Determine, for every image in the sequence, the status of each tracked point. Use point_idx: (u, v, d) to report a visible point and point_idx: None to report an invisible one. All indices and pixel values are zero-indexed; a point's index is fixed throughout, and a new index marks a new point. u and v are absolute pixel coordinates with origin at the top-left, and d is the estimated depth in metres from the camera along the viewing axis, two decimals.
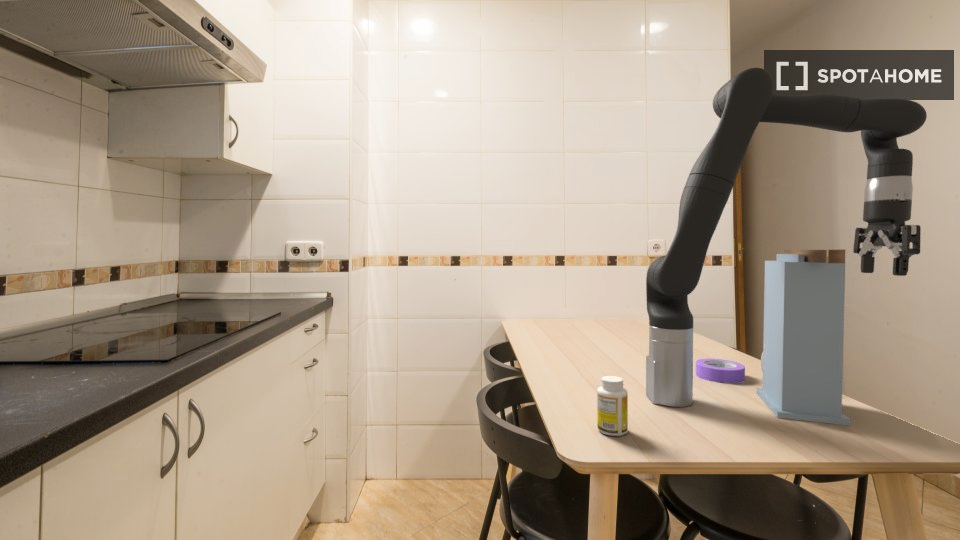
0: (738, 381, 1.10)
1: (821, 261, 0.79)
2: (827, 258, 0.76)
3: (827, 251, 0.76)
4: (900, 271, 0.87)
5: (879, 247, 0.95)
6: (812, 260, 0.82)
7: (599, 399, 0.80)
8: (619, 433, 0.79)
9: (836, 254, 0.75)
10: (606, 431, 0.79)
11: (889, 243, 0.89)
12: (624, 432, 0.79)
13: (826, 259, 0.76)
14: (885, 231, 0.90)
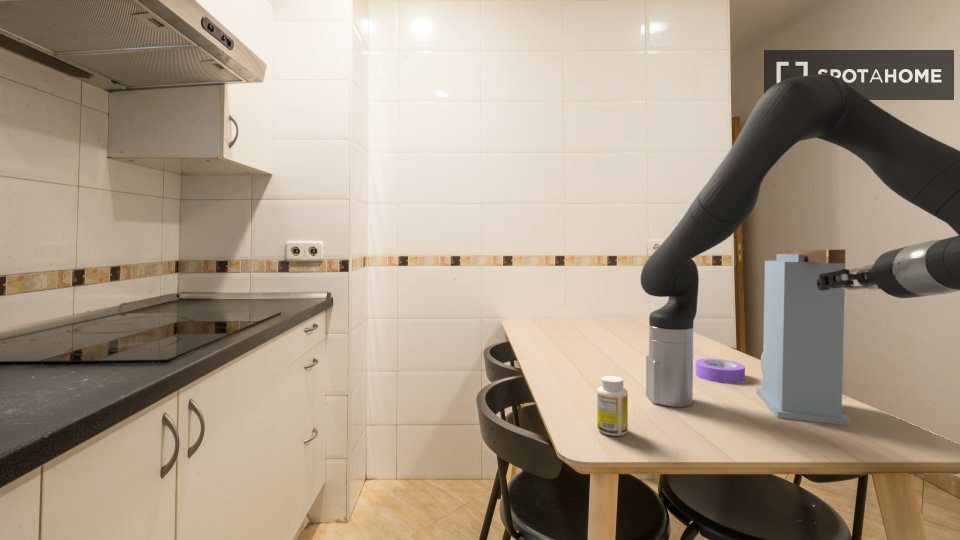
0: (738, 381, 1.10)
1: (821, 261, 0.79)
2: (827, 258, 0.76)
3: (827, 251, 0.76)
4: (817, 281, 0.77)
5: None
6: (812, 260, 0.82)
7: (599, 399, 0.80)
8: (619, 433, 0.79)
9: (836, 254, 0.75)
10: (606, 431, 0.79)
11: (849, 269, 0.71)
12: (624, 432, 0.79)
13: (826, 259, 0.76)
14: (871, 268, 0.68)
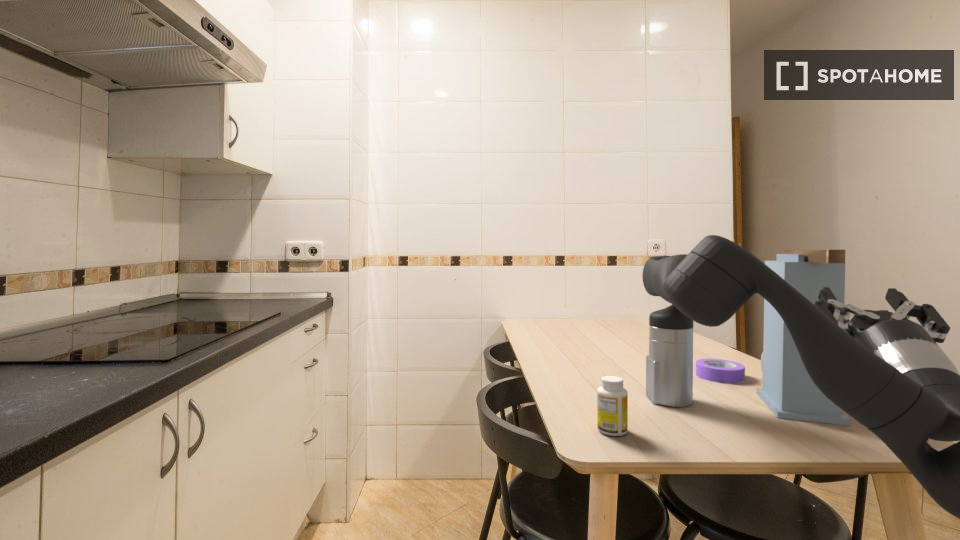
0: (738, 381, 1.10)
1: (821, 261, 0.79)
2: (827, 258, 0.76)
3: (827, 251, 0.76)
4: (820, 291, 0.70)
5: None
6: (812, 260, 0.82)
7: (599, 399, 0.80)
8: (619, 433, 0.79)
9: (836, 254, 0.75)
10: (606, 431, 0.79)
11: (848, 307, 0.64)
12: (624, 432, 0.79)
13: (826, 259, 0.76)
14: (868, 319, 0.61)
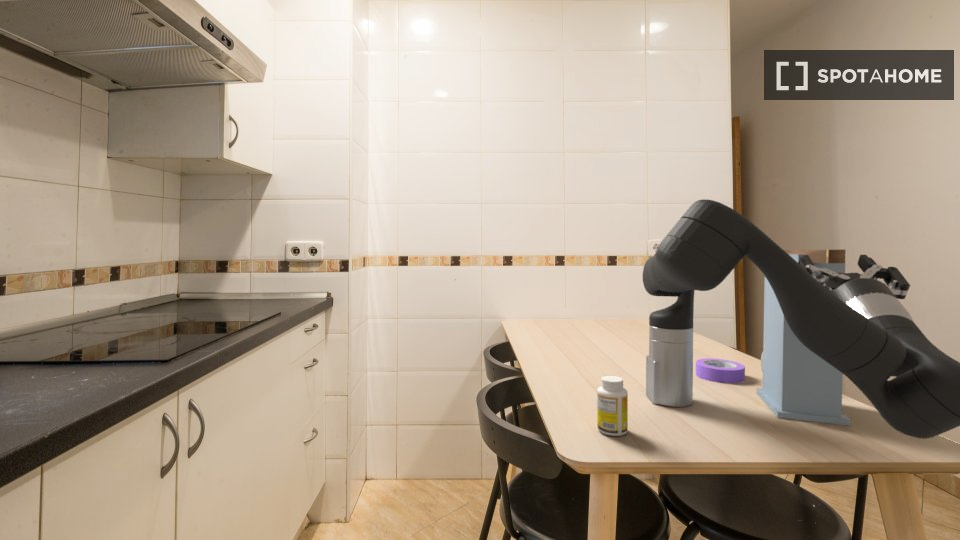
0: (738, 381, 1.10)
1: (821, 261, 0.79)
2: (827, 258, 0.76)
3: (827, 251, 0.76)
4: (800, 258, 0.78)
5: None
6: (812, 260, 0.82)
7: (599, 399, 0.80)
8: (619, 433, 0.79)
9: (836, 254, 0.75)
10: (606, 431, 0.79)
11: (823, 270, 0.72)
12: (624, 432, 0.79)
13: (826, 259, 0.76)
14: (840, 280, 0.70)
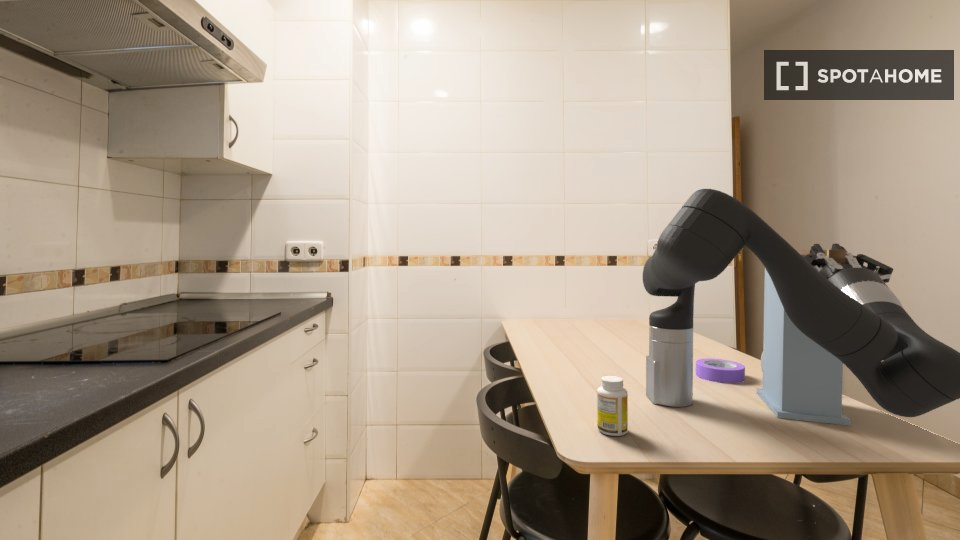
0: (738, 381, 1.10)
1: None
2: None
3: (827, 251, 0.76)
4: (811, 247, 0.80)
5: None
6: None
7: (599, 399, 0.80)
8: (619, 433, 0.79)
9: (836, 254, 0.75)
10: (606, 431, 0.79)
11: (826, 259, 0.75)
12: (624, 432, 0.79)
13: None
14: (832, 269, 0.72)
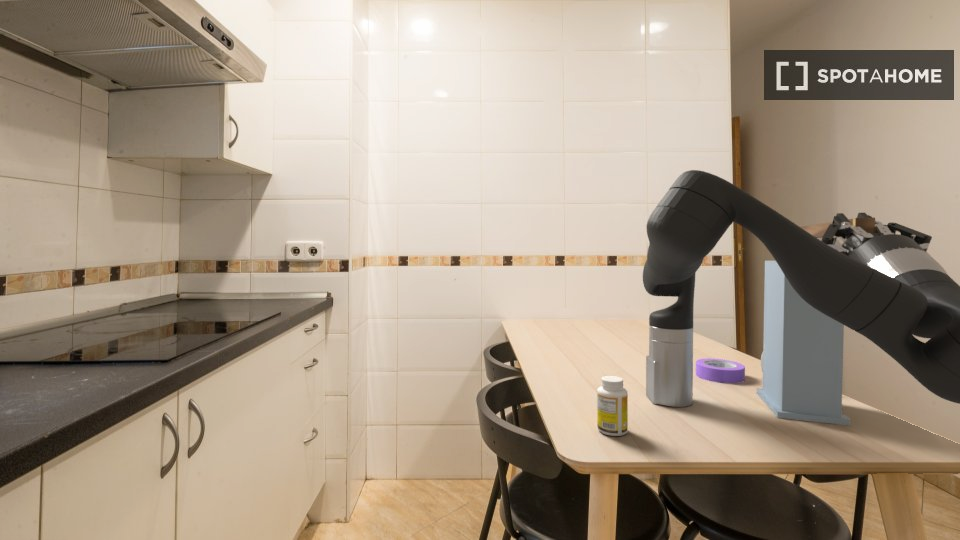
0: (738, 381, 1.10)
1: None
2: None
3: (854, 220, 0.67)
4: (834, 217, 0.71)
5: None
6: None
7: (599, 399, 0.80)
8: (619, 433, 0.79)
9: (864, 223, 0.66)
10: (606, 431, 0.79)
11: (853, 227, 0.66)
12: (624, 432, 0.79)
13: None
14: (861, 238, 0.63)
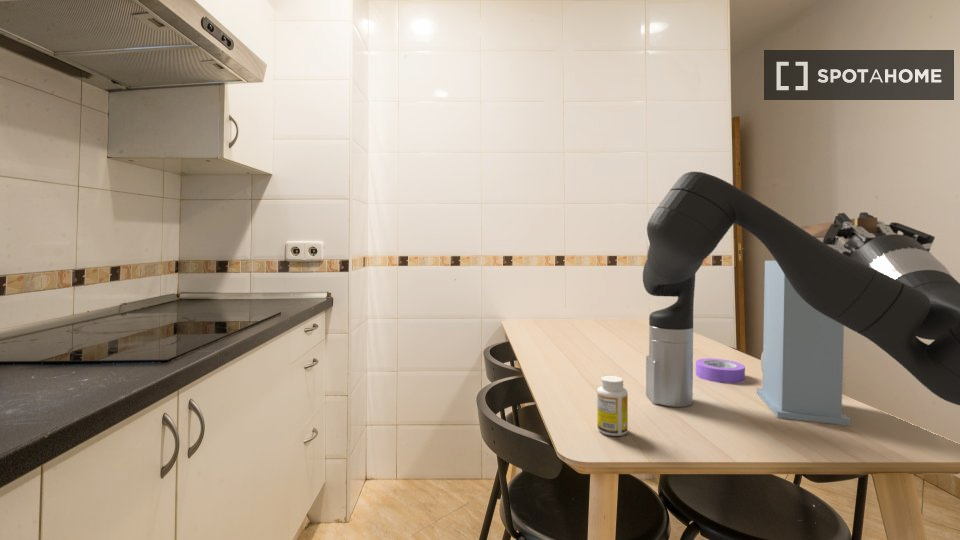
0: (738, 381, 1.10)
1: None
2: None
3: (856, 220, 0.66)
4: (835, 217, 0.71)
5: None
6: None
7: (599, 399, 0.80)
8: (619, 433, 0.79)
9: (866, 223, 0.66)
10: (606, 431, 0.79)
11: (855, 228, 0.65)
12: (624, 432, 0.79)
13: None
14: (863, 238, 0.63)
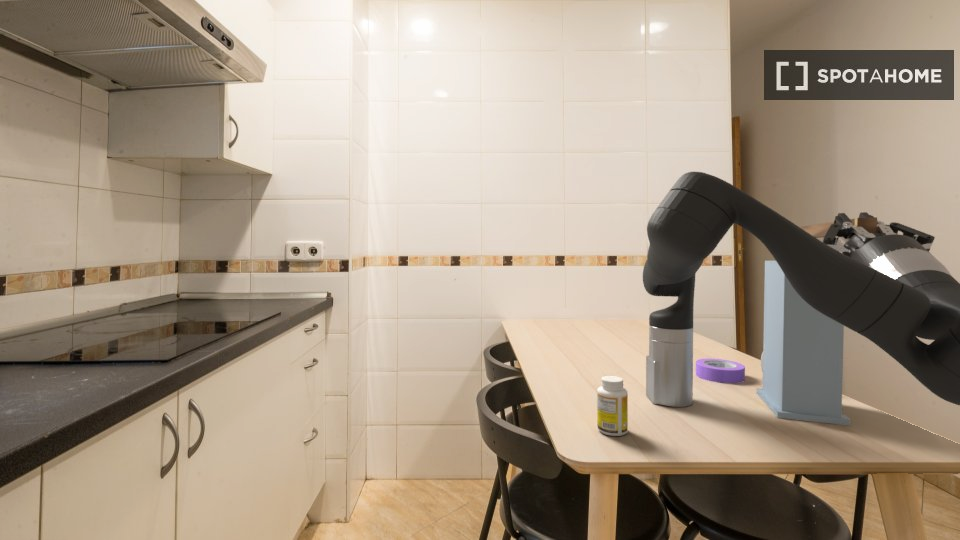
0: (738, 381, 1.10)
1: None
2: None
3: (856, 220, 0.66)
4: (835, 217, 0.71)
5: None
6: None
7: (599, 399, 0.80)
8: (619, 433, 0.79)
9: (866, 223, 0.66)
10: (606, 431, 0.79)
11: (855, 228, 0.65)
12: (624, 432, 0.79)
13: None
14: (863, 238, 0.63)
